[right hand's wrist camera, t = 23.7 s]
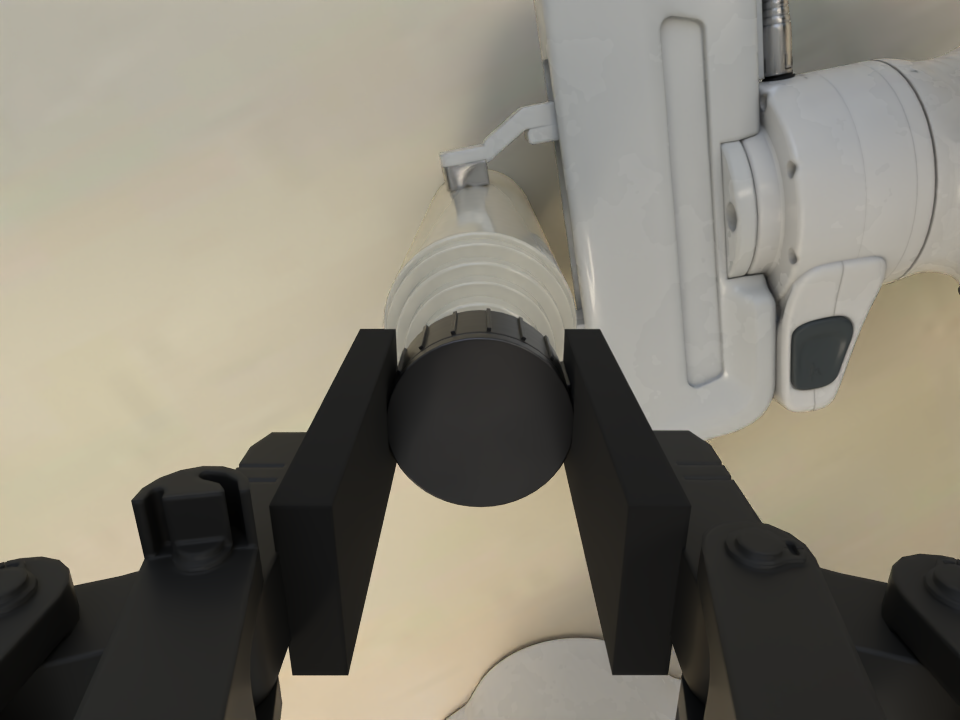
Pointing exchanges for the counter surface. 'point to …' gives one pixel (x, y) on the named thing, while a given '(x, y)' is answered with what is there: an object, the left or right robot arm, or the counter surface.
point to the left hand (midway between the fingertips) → (459, 253)
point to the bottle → (480, 265)
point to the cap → (480, 409)
